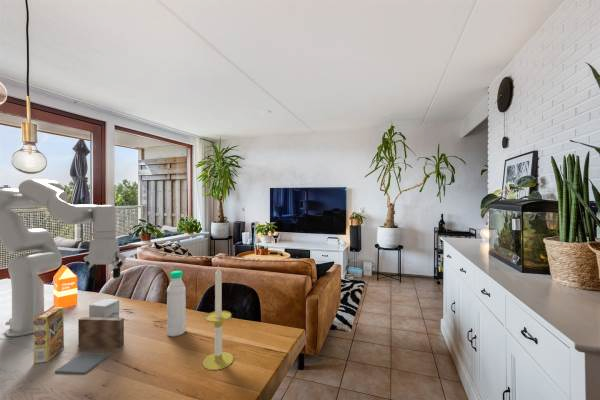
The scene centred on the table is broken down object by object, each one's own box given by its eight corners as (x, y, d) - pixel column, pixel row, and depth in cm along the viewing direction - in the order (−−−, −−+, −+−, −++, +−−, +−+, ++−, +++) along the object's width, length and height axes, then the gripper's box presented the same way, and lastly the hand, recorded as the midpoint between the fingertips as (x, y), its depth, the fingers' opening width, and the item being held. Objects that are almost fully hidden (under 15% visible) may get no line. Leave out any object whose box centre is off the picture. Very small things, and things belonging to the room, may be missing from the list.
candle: (222, 349, 98) (222, 260, 98) (239, 360, 92) (239, 264, 92) (196, 362, 91) (196, 265, 90) (213, 374, 84) (213, 270, 84)
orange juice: (72, 300, 145) (72, 263, 145) (77, 304, 140) (77, 265, 140) (52, 305, 139) (52, 266, 139) (57, 309, 134) (57, 269, 134)
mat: (54, 372, 85) (54, 370, 85) (82, 354, 95) (82, 352, 95) (85, 373, 84) (85, 372, 84) (109, 355, 94) (109, 353, 94)
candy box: (48, 362, 91) (47, 316, 91) (32, 363, 90) (32, 317, 90) (64, 348, 99) (64, 306, 99) (50, 349, 98) (50, 307, 98)
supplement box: (103, 338, 106) (103, 306, 106) (88, 336, 107) (88, 304, 107) (120, 329, 113) (119, 299, 113) (105, 328, 115) (105, 298, 115)
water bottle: (189, 330, 112) (189, 270, 112) (175, 338, 106) (175, 274, 106) (177, 327, 115) (177, 268, 115) (162, 334, 109) (162, 272, 109)
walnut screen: (78, 346, 100) (78, 319, 100) (83, 343, 102) (83, 316, 102) (119, 347, 99) (119, 320, 99) (123, 344, 101) (123, 318, 101)
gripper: (76, 236, 107) (76, 280, 107) (118, 236, 106) (119, 280, 106) (92, 234, 114) (92, 274, 114) (131, 234, 113) (131, 275, 113)
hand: (105, 277), depth 110 cm, fingers open, 9 cm apart
